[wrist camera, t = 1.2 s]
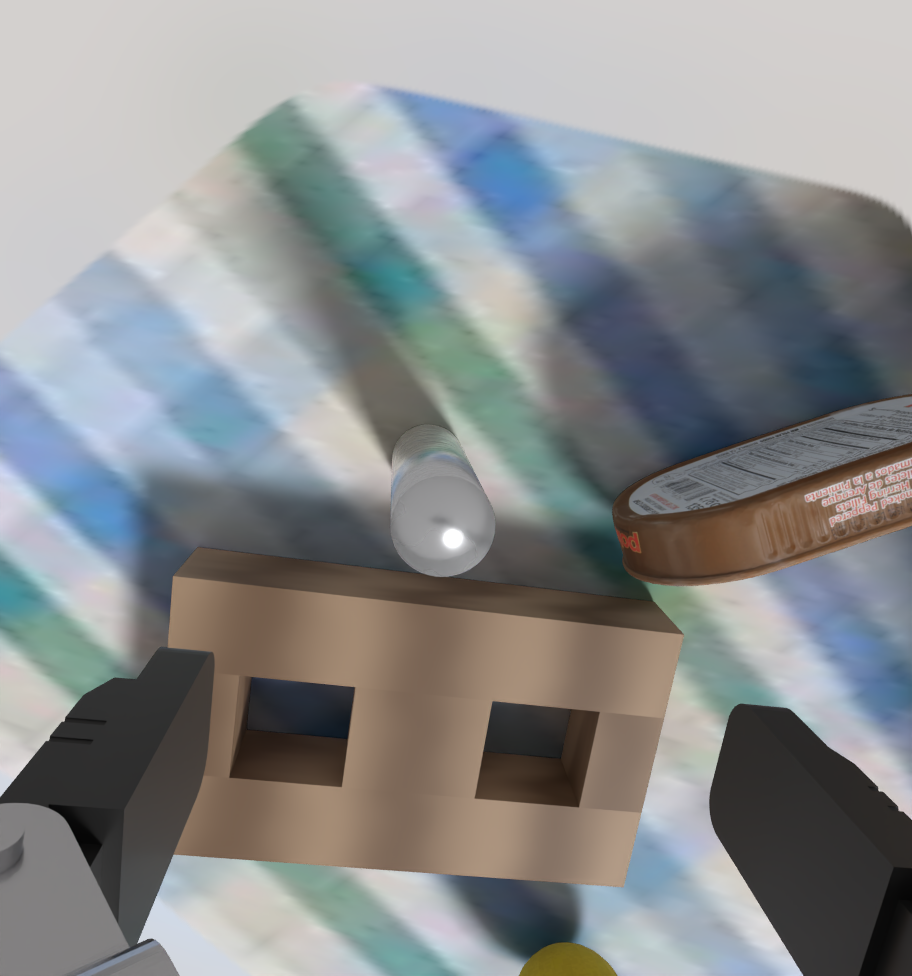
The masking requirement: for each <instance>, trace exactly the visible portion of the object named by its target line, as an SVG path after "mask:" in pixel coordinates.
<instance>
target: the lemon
mask: <svg viewBox="0 0 912 976" xmlns="http://www.w3.org/2000/svg"><path fill="white" fill-rule="evenodd" d="M519 976H617V974H616V973H615V971H614V970H613V968H612V967H611V966H610V965H609V963H608V962H607V961H606V960H604V959H603V958H602V957H601V956H600V955H599V954H597V953H596V952H595V951H593V950H591V949H589V948H587V947H585V946H582V945H580V944H575V943H569V942H563V943H555V944H551V945H548V946H546V947H544V948H542V949H541V950H539V951H538V952H537V953H535V954H534V955H533V956H532V957H531V958H530V959H529V960H528V961H527V963H526V964H525V965H524V967H523V968H522V970H521V972H520V974H519Z"/></svg>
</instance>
